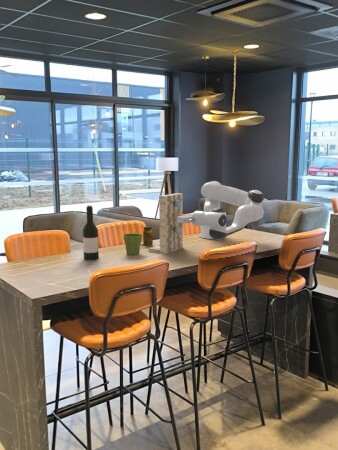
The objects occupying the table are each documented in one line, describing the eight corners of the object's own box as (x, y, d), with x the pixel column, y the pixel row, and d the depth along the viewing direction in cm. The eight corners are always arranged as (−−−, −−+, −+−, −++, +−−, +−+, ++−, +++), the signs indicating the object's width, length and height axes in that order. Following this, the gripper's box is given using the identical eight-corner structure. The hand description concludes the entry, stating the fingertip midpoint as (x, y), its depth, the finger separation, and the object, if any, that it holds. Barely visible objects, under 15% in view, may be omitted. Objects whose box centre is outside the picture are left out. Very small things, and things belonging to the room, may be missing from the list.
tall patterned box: (166, 245, 280) (166, 192, 274) (182, 247, 273) (182, 193, 268) (148, 251, 263) (147, 195, 258) (165, 254, 257) (165, 196, 251)
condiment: (155, 245, 281) (155, 227, 279) (143, 247, 276) (143, 228, 274) (149, 243, 287) (149, 225, 285) (138, 245, 282) (137, 226, 280)
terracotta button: (171, 219, 266) (171, 212, 265) (179, 220, 263) (179, 212, 262) (167, 220, 262) (167, 212, 261) (176, 220, 259) (176, 213, 258)
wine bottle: (80, 258, 246) (78, 205, 241) (92, 256, 252) (90, 204, 248) (90, 261, 241) (88, 207, 236) (101, 258, 247) (100, 205, 242)
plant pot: (143, 255, 252) (142, 236, 251) (122, 256, 252) (122, 237, 250) (143, 251, 264) (143, 233, 262) (123, 251, 263) (123, 233, 262)
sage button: (173, 232, 266) (173, 225, 266) (181, 233, 263) (181, 226, 262) (169, 233, 263) (169, 226, 262) (177, 234, 260) (177, 227, 259)
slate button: (173, 206, 264) (173, 199, 263) (181, 206, 261) (181, 199, 260) (169, 207, 260) (169, 199, 259) (177, 207, 257) (177, 200, 256)
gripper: (189, 226, 245) (168, 224, 252) (206, 221, 262) (186, 219, 269) (189, 215, 244) (168, 213, 251) (206, 211, 261) (186, 209, 268)
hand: (178, 216), depth 260 cm, fingers closed
